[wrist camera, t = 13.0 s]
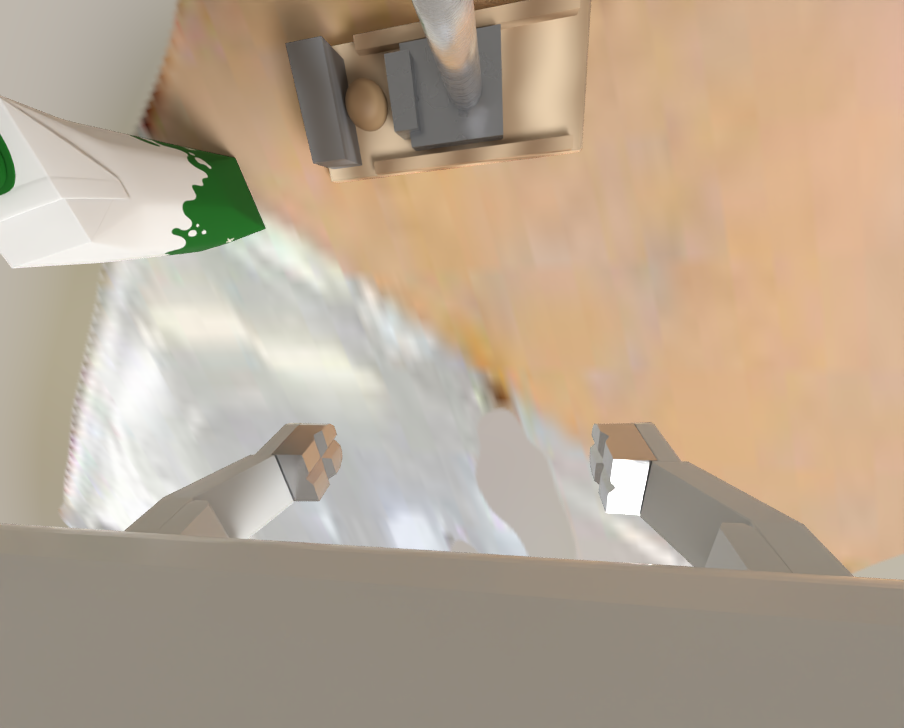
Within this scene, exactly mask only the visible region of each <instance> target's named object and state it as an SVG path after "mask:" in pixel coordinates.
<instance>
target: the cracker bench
mask: <svg viewBox="0 0 904 728" xmlns="http://www.w3.org/2000/svg"><path fill="white" fill-rule="evenodd" d="M590 10H591V0H525V1H520V2H515V3H510V4H505V5H500V6H495V7H490V8H485V9H480V10H475V21H476V29H477V28H482V27H487V26H492V25H497V24H501V60H502V102H503V139H501V140H494V141H486V142H479V143H472V144H465V145H458V146H450V147H443V148H436V149H429V150H421V151H415V150H414V149H413V148H412V145H411V139H407V140H404V139H403V138H401V137H400V136H399V135H398V134H397V133H395V132H394V124H393V117H392V110H391V103H390V95H389V88H388V81H387V74H386V66H385V59H384V54H386V53H391V52H397V51H400V47H399V43H404V42H409V41H414V40H419V39H425V38H426V36H425V33H424V31H423V28H422V26H421V23H420V22H415V23H410V24H405V25H401V26H396V27H391V28H386V29H381V30H376V31H371V32H366V33H361V34H356V35H353V40H354V42H350V43H345V44H340V45H335V46H330V45H329V44H328V43H327V42H326V40H325V39H324V38H323V37H322V36H319V37H314V38H309V39H304V40H299V41H294V42H289V43H285V44H286V48H287V52H288V57H289V61H290V65H291V70H292V74H293V78H294V83H295V87H296V91H297V96H298V100H299V104H300V109H301V113H302V117H303V121H304V126H305V130H306V134H307V139H308V143H309V147H310V152H311V156H312V160H313V163H314V164H318V165H321V166H324V167H328V168H329V171H330V176H331V181H332V182H336V183H341V182H349V181H357V180H365V179H373V178H380V177H388V176H396V175H404V174H412V173H419V172H427V171H435V170H443V169H451V168H458V167H466V166H474V165H482V164H490V163H497V162H505V161H513V160H521V159H529V158H537V157H544V156H552V155H560V154H568V153H576V152H579V151H580V150H582V143H583V127H584V110H585V93H586V77H587V60H588V43H589V27H590Z"/></svg>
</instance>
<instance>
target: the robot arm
mask: <svg viewBox="0 0 904 728" xmlns="http://www.w3.org/2000/svg"><path fill="white" fill-rule="evenodd" d="M336 435H337V433H336V430H335V428H334V426H333V425H331V424H317V423H303V424H302V423H289V424H285V425H284V426H283V427H282V428H281V429H280V430H279V431H278V432H277V433H276V434H275V435H274V436H273V437H272V438H271V439H270V440H269V441H268V442H267V443H266V444H265V445H264V446H263V447H262V448H261V449H260V450H259V451H258V452H257V453H256V454H255V455H249V456H247V457H245V458H243V459H241V460H239V461H237V462H235V463H233V464H230V465H228V466H226V467H224V468H222V469H220V470H218V471H216V472H214V473H212V474H210V475H208V476H206V477H204V478H202V479H200V480H198V481H196V482H194V483H192V484H190V485H188V486H186V487H184V488H182V489H180V490H178V491H175V492H173V493H171V494H169V495H167V496H165V497H163V498H162V499H161V500H160V501H159V502H157V503H156V504H155V505H154V506H153V507H152V508H150V509H149V510H148V511H147V512H146V513H145V514H143V515H142V516H141V517H140V518H139V519H138V520H136V521H135V522H134V523H133V524H132V525H131V526H129V527H128V528H127V529H126V530H125V531H112V530H96V529H80V528H64V527H47V526H31V525H17V524H7V523H0V728H904V580H896V579H880V578H864V577H854V576H853V575H852V574H851V573H850V572H849V571H848V570H847V569H846V568H845V567H844V566H843V565H842V564H841V563H840V562H839V560H838V559H837V558H836V557H835V556H834V555H833V554H832V553H831V552H830V551H829V550H828V549H827V548H826V547H825V546H824V545H823V544H822V543H821V542H820V541H819V540H818V539H817V538H816V537H815V536H814V535H813V534H812V533H811V532H810V531H809V530H808V529H807V527H806V526H805V525H803V524H802V523H800V522H798V521H796V520H794V519H792V518H791V517H789V516H787V515H785V514H783V513H781V512H779V511H778V510H776V509H774V508H772V507H770V506H768V505H767V504H765V503H763V502H761V501H759V500H757V499H756V498H754V497H752V496H750V495H748V494H746V493H745V492H743V491H741V490H739V489H737V488H735V487H734V486H732V485H730V484H728V483H726V482H724V481H723V480H721V479H719V478H717V477H715V476H713V475H712V474H710V473H708V472H706V471H704V470H702V469H701V468H699V467H697V466H695V465H693V464H691V463H689V462H682V461H681V460H680V459H679V457H678V456H677V455H676V453H675V452H674V451H673V449H672V448H671V446H670V445H669V444H668V442H667V441H666V440H665V438H664V437H663V436H662V434H661V433H660V432H659V430H658V429H657V428H656V426H655V425H654V424H653V423H651V422H645V423H623V424H594V426H593V429H592V437H593V440H594V442H595V444H594V445H593V446H592V447H591V448H590V467H591V472H592V475H593V478H594V481H596V482H597V483H598V484H599V495H600V498H601V501H602V504H603V506H604V509H605V512H606V513H617V514H632V515H640V517H641V518H642V519H643V520H644V521H645V522H647V523H648V524H649V525H650V526H651V527H652V528H653V529H654V530H655V531H656V532H657V533H658V534H659V535H660V536H662V537H663V538H664V539H665V540H666V541H667V542H668V543H669V544H670V545H671V546H672V547H673V548H674V549H675V550H677V551H678V552H679V553H680V554H681V555H682V556H683V557H684V558H685V559H686V560H687V561H688V562H689V563H690V564H692V565H693V566H694V567H688V566H672V565H656V564H640V563H623V562H607V561H590V560H574V559H557V558H543V557H527V556H511V555H496V554H480V553H465V552H464V553H463V552H449V551H432V550H416V549H400V548H384V547H368V546H352V545H336V544H320V543H304V542H288V541H272V540H256V539H249V538H250V537H251V536H252V535H254V534H255V533H256V532H257V531H259V530H260V529H261V528H262V527H264V526H265V525H266V524H267V523H269V522H270V521H271V520H272V519H274V518H275V517H276V516H278V515H279V514H280V513H281V512H283V511H284V510H285V509H286V508H288V507H289V506H290V505H291V504H293V503H294V501H320V499H321V498H322V496H323V495H324V493H325V491H326V490H327V488H328V487H329V485H330V484H329V478H331V477H332V476H334V475H335V474H337V472H338V470H339V468H340V466H341V462H342V450H341V446H340V445H339V444H338V443H337V442H336V441H335V440H334V439H335V437H336Z"/></svg>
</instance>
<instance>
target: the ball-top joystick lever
mask: <svg viewBox="0 0 904 728" xmlns="http://www.w3.org/2000/svg"><path fill="white" fill-rule="evenodd" d="M412 2H413V5H414V8H415V10H416V13H417V15H418V18H419V21H420V23H421V26H422V28H423V31H424V33H425V36H426V38H425V39H419V40H414V41H409V42H404V43H399V47H400V51H397V52H391V53H386V54H384V59H385V66H386V74H387V81H388V88H389V95H390V103H391V110H392V117H393V124H394V132H395V133H397V134H398V135H399V136H400V137H401V138H403V139H404V140H407V139H411V145H412V148H413V149H414V150H415V151H421V150H429V149H436V148H443V147H450V146H458V145H465V144H472V143H479V142H486V141H494V140H501V139H503V102H502V60H501V24H497V25H492V26H487V27H482V28H477V29H476V21H475V11H474V2H473V0H412Z"/></svg>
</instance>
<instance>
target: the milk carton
mask: <svg viewBox="0 0 904 728" xmlns="http://www.w3.org/2000/svg"><path fill="white" fill-rule="evenodd" d="M263 229H266V228H265V226H264V224H263V221H262V219H261V217H260V214H259V212H258V210H257V207H256V205H255V203H254V200H253V198H252V196H251V193H250V191H249V189H248V187H247V184H246V182H245V180H244V177H243V175H242V173H241V170H240V168H239V166H238V163H237V161H236V159H235V158H233V157H229V156H224V155H219V154H215V153H210V152H205V151H201V150H196V149H191V148H187V147H182V146H177V145H173V144H168V143H164V142H159V141H155V140H150V139H146V138H141V137H137V136H132V135H128V134H123V133H119V132H115V131H110V130H106V129H101V128H97V127H92V126H88V125H83V124H79V123H75V122H70V121H67V120H64V119H60V118H58V117H55V116H52V115H50V114H47V113H44V112H42V111H39V110H37V109H34V108H31V107H28V106H26V105H24V104H21V103H18V102H16V101H13V100H11V99H8V98H5V97H3V96H0V253H1V254H2V256H3V257H4V258H5V260H6V261H7V262H8V264H9V265H10V266H11V268H22V267H37V266H53V265H68V264H86V263H103V262H114V261H124V260H133V259H141V258H150V257H158V256H167V255H175V254H184V253H192V252H199V251H203V250H207V249H210V248H213V247H217V246H220V245H224V244H227V243H229V242H232V241H235V240H237V239H240V238H242V237H245V236H248V235H250V234H253V233H255V232H258V231H261V230H263Z"/></svg>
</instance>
